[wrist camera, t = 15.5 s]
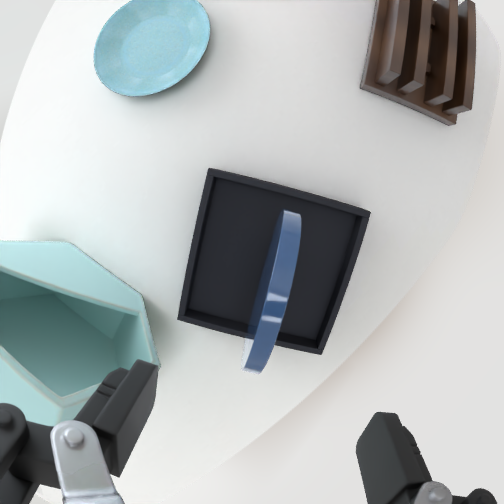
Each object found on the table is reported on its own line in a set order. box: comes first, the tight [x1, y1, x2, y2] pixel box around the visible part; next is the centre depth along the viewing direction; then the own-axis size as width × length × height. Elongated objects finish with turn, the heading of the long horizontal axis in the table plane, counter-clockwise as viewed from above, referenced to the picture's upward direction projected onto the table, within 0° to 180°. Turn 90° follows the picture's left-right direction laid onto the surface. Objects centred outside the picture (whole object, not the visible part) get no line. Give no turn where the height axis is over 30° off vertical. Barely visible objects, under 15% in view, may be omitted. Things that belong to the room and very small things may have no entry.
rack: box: [360, 0, 476, 126], centre depth 21 cm, size 14×10×6 cm
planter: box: [0, 240, 161, 426], centre depth 23 cm, size 17×8×21 cm
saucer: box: [94, 0, 210, 97], centre depth 24 cm, size 12×12×2 cm
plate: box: [241, 209, 301, 374], centre depth 23 cm, size 12×1×12 cm, turn 166°
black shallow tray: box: [177, 168, 371, 355], centre depth 28 cm, size 14×14×3 cm
